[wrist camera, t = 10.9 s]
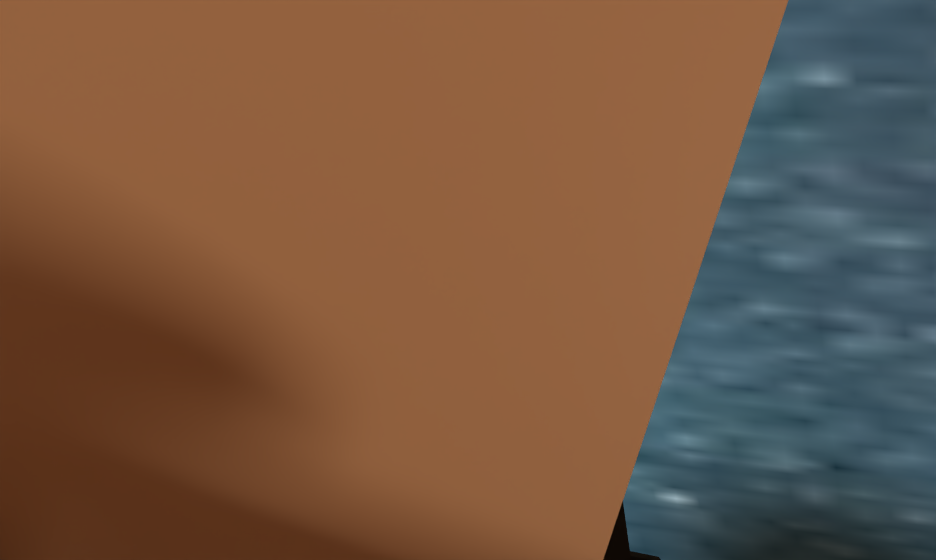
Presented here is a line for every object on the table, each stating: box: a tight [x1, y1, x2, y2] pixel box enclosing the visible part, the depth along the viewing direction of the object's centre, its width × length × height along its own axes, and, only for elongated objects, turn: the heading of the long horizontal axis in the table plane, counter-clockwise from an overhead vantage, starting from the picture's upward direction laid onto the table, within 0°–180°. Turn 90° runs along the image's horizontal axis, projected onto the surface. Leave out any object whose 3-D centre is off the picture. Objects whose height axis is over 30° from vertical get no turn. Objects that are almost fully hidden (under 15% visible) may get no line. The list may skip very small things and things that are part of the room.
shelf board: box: [0, 0, 788, 560], centre depth 9 cm, size 20×6×4 cm, turn 171°
